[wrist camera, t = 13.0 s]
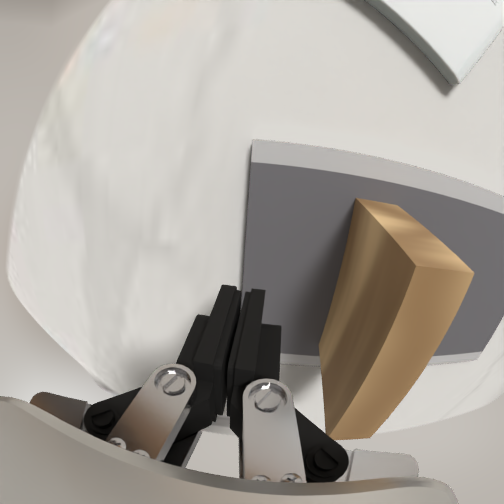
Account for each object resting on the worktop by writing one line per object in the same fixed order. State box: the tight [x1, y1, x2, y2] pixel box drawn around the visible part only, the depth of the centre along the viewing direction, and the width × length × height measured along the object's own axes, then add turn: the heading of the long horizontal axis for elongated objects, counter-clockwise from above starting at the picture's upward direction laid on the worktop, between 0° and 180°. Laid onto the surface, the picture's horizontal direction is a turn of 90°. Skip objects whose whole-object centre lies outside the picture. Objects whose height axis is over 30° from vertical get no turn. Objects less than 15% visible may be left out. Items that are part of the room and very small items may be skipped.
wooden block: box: [319, 198, 474, 440], centre depth 10 cm, size 2×9×6 cm, turn 176°
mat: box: [241, 139, 504, 367], centre depth 13 cm, size 20×13×1 cm, turn 86°
